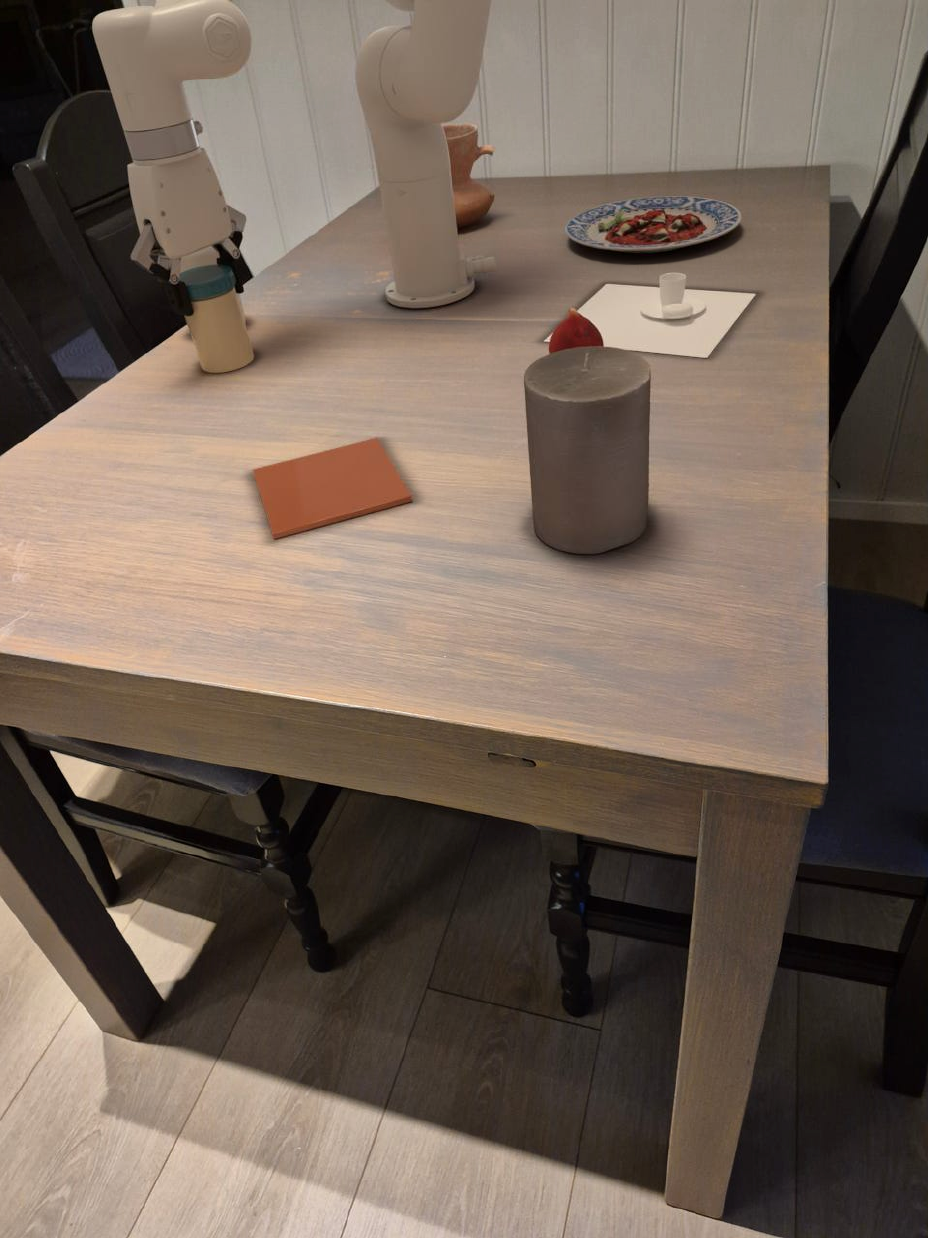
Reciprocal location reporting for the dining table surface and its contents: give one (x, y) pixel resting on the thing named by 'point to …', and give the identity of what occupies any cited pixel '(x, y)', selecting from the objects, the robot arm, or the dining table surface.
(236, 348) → the jar
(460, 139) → the ceramic jug
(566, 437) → the pillar candle
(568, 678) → the dining table surface
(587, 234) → the ceramic plate
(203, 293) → the lid
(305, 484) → the tile
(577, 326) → the onion
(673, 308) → the teacup and saucer
